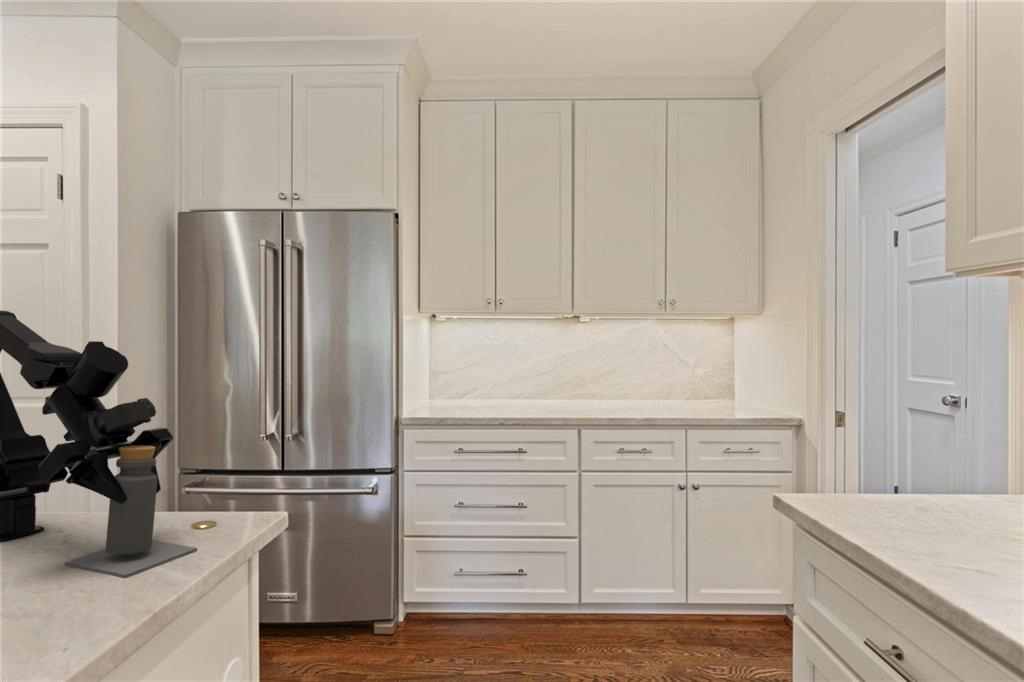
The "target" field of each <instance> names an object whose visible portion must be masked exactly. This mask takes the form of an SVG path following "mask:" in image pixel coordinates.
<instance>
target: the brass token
mask: <svg viewBox="0 0 1024 682" xmlns="http://www.w3.org/2000/svg"><path fill="white" fill-rule="evenodd" d="M217 525H218V524H217V521H215V520H200V521H196V522H193V523H191V524H190V528H191V529H194V530H205V529H211V528H214V527H216V526H217Z"/></svg>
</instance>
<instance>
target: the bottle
mask: <svg viewBox="0 0 1024 682" xmlns="http://www.w3.org/2000/svg"><path fill="white" fill-rule="evenodd" d="M155 449H156V447H154V446H141V445H139V446H123V447H120V448H119V451H120V457H119V458H118V459H116V460H115V461H116V462H115V466H116V467H117V468H120V469H119V473H117V474H114V477H115V478H116V480H117V481H118V483H119V484H120V486H121V488H122V489H123V491H124V493H125V495H126V497H127V500H126V501H125V502H124V503H122V504H120V503H118V502H116V501H114V500H112V499H109V506H108V517H107V530H106V541H105V549H106V552H108V553H111V554H133V553H139V552H143V551H146V550H149V549H150V548H151V546H152V540H153V535H154V525H155V514H156V513H155V512H156V500H157V493H156V491H157V476H156V475H155V474H154V473H152V472H151V467H152V466H155V465H156V466H157V458H153V455H154V452H155Z"/></svg>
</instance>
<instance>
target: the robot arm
mask: <svg viewBox="0 0 1024 682" xmlns="http://www.w3.org/2000/svg"><path fill="white" fill-rule="evenodd" d="M2 350H3V351H4V352H5V353H7V355H8V356H10V357H11V358H13V359H14V360H15V361H17V363H19V364H20V366H21V368H20V372H19V374H20V376H21V377H22V378H23V379H24V381H26V383H27V384H28V385H29V386H30V387H31V388H33V389H35V390H45V389H46V390H47V389H48V390H49V389H54V390H53V392H52V393H51V394H50V395H49V396H48V395H47V396H45V401H44V404H43V406H42V408H41V409H42V412H41V413H42V415H45V416H46V415H52V414H55V415H56V416H57V418H58V419H59V420H60V422H61V424H62V425H63V426H64V427H65V429H66V433H65V434H64V435H63V439H64V440H65V442H64V443H58V444H57V445H55V446H54V448H53V449H52V450H51V451H50V449H49V447H48V445H47V441H46V439H45V437H44V436H43V435H42V434H36V435H35V434H34V435H31V434H28V433H27V432H26V430H25V428H24V426H23V424H22V421H21V418H20V416H19V414H18V411H17V408H16V406H15V404H14V402H13V399H12V397H11V395H10V392H9V390H8V387H7V384H6V382H5V380H4V377H3V375H2V372H0V542H4V541H9V540H12V539H15V538H19V537H23V536H26V535H31V534H34V533H38V532H41V531H42V532H43V531H44V530H45V526H41V525H36V521H37V519H36V517H37V516H36V515H37V514H36V513H37V505H36V500H37V499H36V497H37V496H36V495H37V494H41V493H44V494H45V493H49V491H50V487H51V484H53V483H59V482H63V481H64V480H65V479H66V480H65V482H66V483H67V485H71V484H74V485H77V486H79V487H82V488H84V489H88V490H90V491H93V492H95V493H97V494H98V495H101V496H103V497H105V498H107V499H109V500H110V499H112V500H114V501H116V502H118V503H120V504H122V503H124V502H125V501H126V500H127V497H126V495H125V493H124V491H123V489H122V488H121V486H120V484H119V483H118V481H117V480H116V478H115V477H114V476H115V474H113V472H112V471H111V469H110V467H109V460H112V459H115V458H116V459H117V458H120V451H119V448H120V447H123V446H139V445H141V446H154V447H156V449H155V452H154V455H153V458H155V459H157V456H159V455H160V454H161V452H162V451H163V450H164V449H165V448H166V447H167V446H168V445H169V444H170V443H171V442H172V441H173V440H174V437H173V435H172V433H171V432H170V430H169V429H168V428H165V427H158V428H157V427H156V428H150V429H144V430H142V432H141V433H139V435H138V436H137V437H136V438H135V439H134V440H133V441H128V438H129V437H132V436H133V435H134V434H135V433H136V430H135V428H136V427H138V426H140V425H143V424H145V423H150V422H152V418H153V417H155V416H156V414H157V410H156V407H155V405H154V403H153V402H152V401H151V400H150V399H149V398H147V397H143V398H138V399H137V400H136V401H132V402H131V401H130V402H124V403H120V404H117V405H115V406H113V407H111V408H106V407H105V404H103V402H102V401H101V400H100V398H103V397H105V396H107V395H108V394H109V393H110V392H111V390H112V389H113V388H114V387H115V385H116V384H117V382H118V381H120V379H121V377H122V376H123V375H124V373H125V372H126V371H127V369H128V368H129V360H128V358H127V357H126V356H125V355H124V354H122V353H120V352H119V351H117V350H116V349H114V348H112V347H109V346H106V345H105V343H104V341H97V340H96V341H95V340H93V341H90V340H89V341H88V342H87V344H86V345H85V347H84V348H83V350H82V352H80V351H77V350H75V349H72V348H71V347H67V346H63V345H58V344H57V345H56V344H54V343H50V342H49V341H47V340H46V339H45V338H43V337H42V336H41V335H39V334H38V333H36V332H35V331H34V330H32V329H31V328H30V327H28V326H27V325H26V324H25V323H23V322H22V321H20V320H19V319H18V318H17V316H16V314H15V313H13V312H10V311H8V310H2V309H1V310H0V354H1V352H2ZM157 468H158V467H157V464H156V465H155V466H152V467H151V472H152V473H154V474H155V475H156V476H157V491H156V494H158V493H159V492H160V491H161V490H162V487H161V482H160V478H159V475H158V469H157ZM67 469H68V470H67ZM68 473H69V474H70V475H69V476H68ZM67 476H68V477H67Z"/></svg>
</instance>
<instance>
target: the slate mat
mask: <svg viewBox="0 0 1024 682" xmlns="http://www.w3.org/2000/svg"><path fill="white" fill-rule="evenodd" d="M197 551H198V547H196V546H195V547H194V546H189V545H183V544H177V543H172V542H166V541H161V540H154V539H152V546H151V548H150V549H149V550H146V551H143V552H139V553H133V554H111V553H108V552H106V548H104V549H101V550H98V551H94V552H91V553H89V554H84V555H82V556H79V557H76V558H73V559H70V560H69V559H68V560H66V561H64V562H63V565H64V566H68V567H72V568H77V569H83V570H87V571H92V572H97V573H101V574H105V575H109V576H110V575H111V576H116V577H118V578H120V577H121V578H124V579H125V578H126V579H127V578H129V577H132V576H135V575H137V574H139V573H142V572H144V571H145V572H146V571H147V570H150V569H152V568H155V567H157V566H161V565H162V564H166V563H168V562H171V561H173V560H176V559H178V558H181V557H184V556H186V555H189V554H191V553H194V552H195V553H196V552H197Z"/></svg>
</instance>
